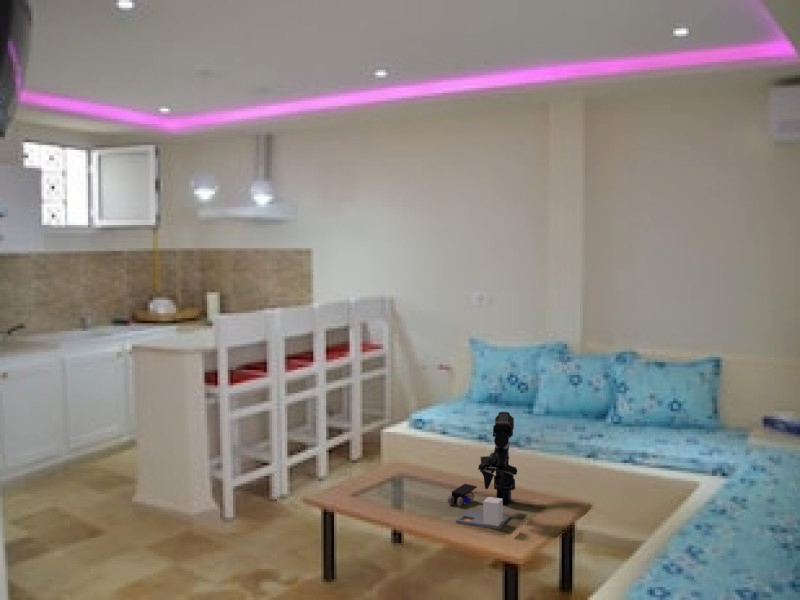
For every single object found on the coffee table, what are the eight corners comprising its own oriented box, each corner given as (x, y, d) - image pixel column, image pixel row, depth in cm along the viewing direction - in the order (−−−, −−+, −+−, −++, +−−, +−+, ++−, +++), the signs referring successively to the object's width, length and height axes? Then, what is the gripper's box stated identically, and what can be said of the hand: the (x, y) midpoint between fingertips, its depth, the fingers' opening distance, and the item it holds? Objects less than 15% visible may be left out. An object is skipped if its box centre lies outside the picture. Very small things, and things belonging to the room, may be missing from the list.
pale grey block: (488, 524, 284) (488, 496, 284) (502, 526, 282) (502, 498, 281) (483, 529, 279) (483, 501, 278) (498, 531, 276) (497, 503, 276)
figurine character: (461, 514, 301) (478, 500, 313) (460, 497, 300) (477, 484, 312) (447, 512, 305) (464, 498, 317) (446, 495, 304) (463, 481, 316)
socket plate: (468, 515, 296) (468, 509, 296) (509, 521, 288) (509, 515, 288) (455, 526, 283) (455, 520, 283) (499, 533, 276) (499, 526, 276)
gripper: (472, 446, 300) (464, 483, 295) (500, 446, 285) (492, 485, 279) (492, 454, 305) (484, 490, 300) (521, 454, 290) (513, 493, 284)
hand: (493, 489), depth 291 cm, fingers open, 9 cm apart
